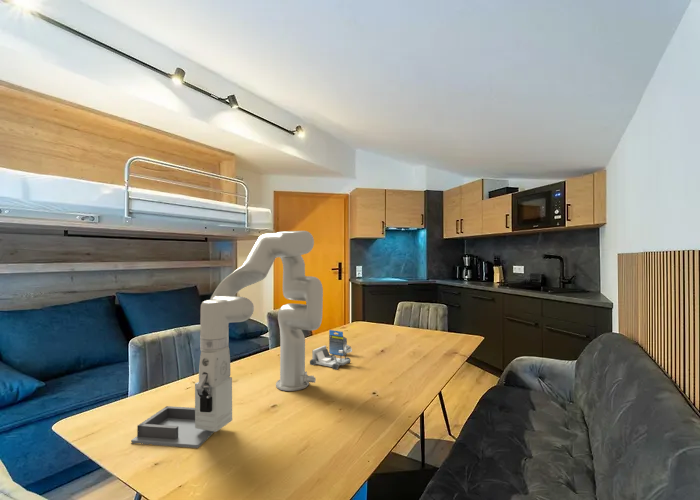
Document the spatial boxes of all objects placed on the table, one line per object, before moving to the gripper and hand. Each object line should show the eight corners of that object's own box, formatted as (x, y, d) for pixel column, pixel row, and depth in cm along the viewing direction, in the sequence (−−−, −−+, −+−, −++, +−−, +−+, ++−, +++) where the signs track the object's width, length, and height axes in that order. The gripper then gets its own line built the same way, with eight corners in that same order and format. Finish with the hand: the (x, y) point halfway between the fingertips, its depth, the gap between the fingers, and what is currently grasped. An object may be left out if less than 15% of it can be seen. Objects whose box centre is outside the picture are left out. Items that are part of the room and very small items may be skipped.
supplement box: (233, 420, 101) (233, 376, 101) (215, 432, 94) (215, 386, 94) (212, 416, 103) (212, 374, 103) (193, 428, 96) (194, 382, 96)
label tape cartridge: (347, 354, 177) (347, 330, 177) (343, 356, 174) (343, 331, 174) (333, 351, 182) (333, 328, 182) (328, 353, 179) (328, 329, 179)
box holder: (226, 419, 106) (227, 407, 106) (197, 448, 90) (198, 433, 90) (169, 415, 108) (169, 403, 108) (131, 443, 92) (131, 428, 93)
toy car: (355, 343, 162) (342, 349, 152) (355, 364, 161) (342, 372, 151) (323, 339, 171) (309, 344, 161) (323, 359, 170) (309, 365, 160)
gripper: (211, 352, 90) (210, 420, 89) (240, 336, 107) (239, 393, 107) (184, 351, 91) (183, 418, 90) (217, 335, 108) (216, 392, 108)
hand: (214, 404), depth 98 cm, fingers closed on supplement box, 8 cm apart
